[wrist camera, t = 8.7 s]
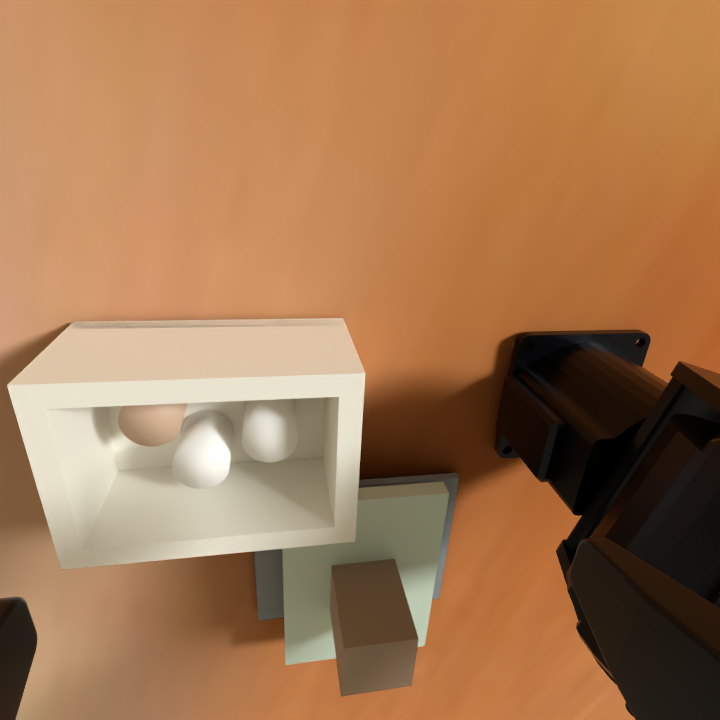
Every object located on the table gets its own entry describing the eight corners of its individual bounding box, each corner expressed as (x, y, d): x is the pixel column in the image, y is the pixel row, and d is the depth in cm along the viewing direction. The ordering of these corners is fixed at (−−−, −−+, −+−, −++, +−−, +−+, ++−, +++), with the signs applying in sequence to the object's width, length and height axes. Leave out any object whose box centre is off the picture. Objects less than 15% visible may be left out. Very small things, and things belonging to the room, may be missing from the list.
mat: (456, 472, 24) (459, 477, 23) (436, 592, 27) (439, 598, 27) (251, 487, 22) (250, 493, 22) (258, 613, 26) (258, 620, 25)
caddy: (342, 318, 19) (365, 373, 15) (337, 460, 22) (355, 541, 18) (73, 321, 18) (6, 385, 13) (106, 474, 20) (61, 569, 16)
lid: (415, 615, 27) (449, 728, 22) (284, 632, 26) (288, 755, 21) (436, 468, 23) (485, 565, 18) (280, 479, 22) (284, 587, 16)
